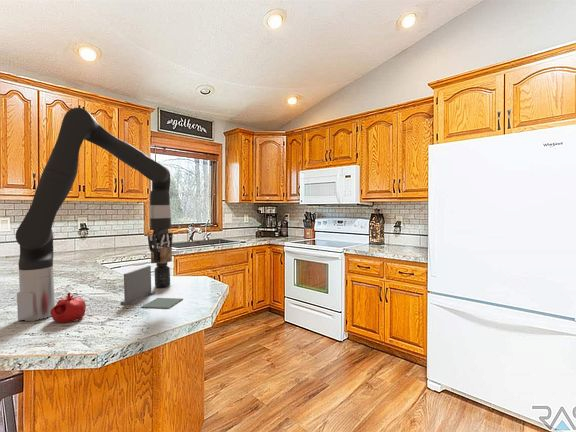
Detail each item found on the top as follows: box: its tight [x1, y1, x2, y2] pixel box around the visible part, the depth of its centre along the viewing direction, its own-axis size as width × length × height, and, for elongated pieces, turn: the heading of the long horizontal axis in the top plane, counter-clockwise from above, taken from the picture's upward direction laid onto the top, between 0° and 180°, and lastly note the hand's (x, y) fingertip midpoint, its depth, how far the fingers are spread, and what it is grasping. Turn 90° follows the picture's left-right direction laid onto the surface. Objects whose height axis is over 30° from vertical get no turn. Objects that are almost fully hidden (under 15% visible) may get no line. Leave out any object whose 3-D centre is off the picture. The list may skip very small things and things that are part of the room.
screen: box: [120, 265, 156, 306], centre depth 127 cm, size 16×5×12 cm, turn 172°
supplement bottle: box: [153, 262, 171, 289], centre depth 146 cm, size 7×7×12 cm
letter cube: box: [150, 246, 173, 264], centre depth 119 cm, size 6×6×6 cm
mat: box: [140, 297, 184, 310], centre depth 120 cm, size 11×11×1 cm
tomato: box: [50, 292, 87, 324], centre depth 104 cm, size 10×10×9 cm
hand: (161, 260), depth 120 cm, fingers closed on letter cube, 5 cm apart
